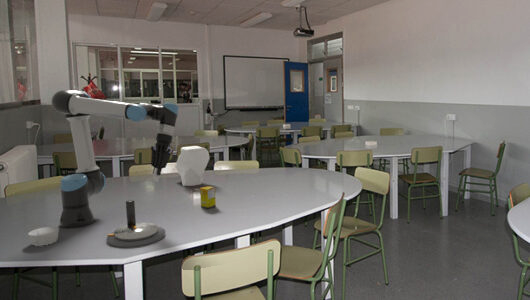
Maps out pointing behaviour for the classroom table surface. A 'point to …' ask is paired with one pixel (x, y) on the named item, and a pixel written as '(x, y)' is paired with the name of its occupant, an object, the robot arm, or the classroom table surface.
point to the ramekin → (43, 236)
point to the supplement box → (207, 197)
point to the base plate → (118, 243)
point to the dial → (134, 227)
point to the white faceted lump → (192, 165)
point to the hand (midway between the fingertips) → (154, 181)
